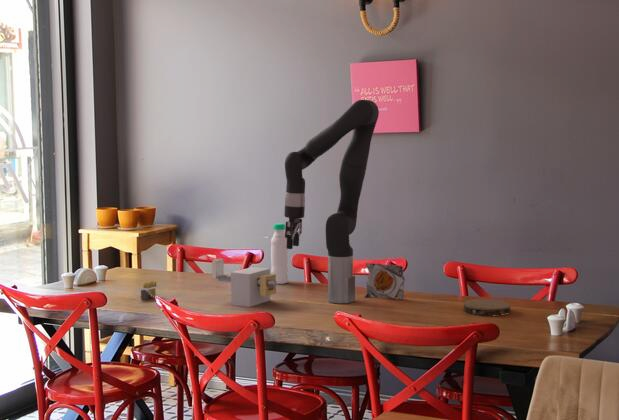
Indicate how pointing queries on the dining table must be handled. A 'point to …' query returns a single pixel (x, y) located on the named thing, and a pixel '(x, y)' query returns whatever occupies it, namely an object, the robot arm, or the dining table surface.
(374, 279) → the meal
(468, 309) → the dark brown disc
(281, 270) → the water bottle
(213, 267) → the shaft
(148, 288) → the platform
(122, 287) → the dining table surface
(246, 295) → the block
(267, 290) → the spacer
